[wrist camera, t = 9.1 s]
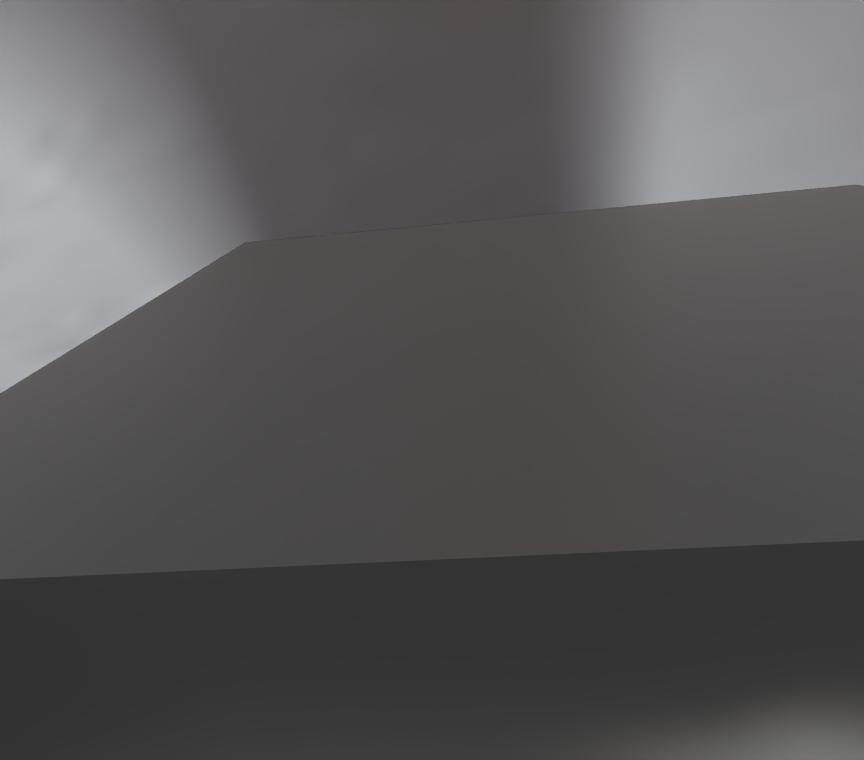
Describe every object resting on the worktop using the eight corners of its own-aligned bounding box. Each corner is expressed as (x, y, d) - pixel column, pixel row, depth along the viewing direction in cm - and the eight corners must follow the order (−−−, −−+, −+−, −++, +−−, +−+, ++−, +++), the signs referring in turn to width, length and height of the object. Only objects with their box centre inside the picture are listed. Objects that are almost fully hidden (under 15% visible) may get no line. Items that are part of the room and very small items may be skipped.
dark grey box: (791, 663, 11) (1205, 1408, 5) (336, 675, 12) (177, 1333, 5) (857, 184, 8) (2184, 479, 2) (245, 242, 9) (-324, 593, 3)
